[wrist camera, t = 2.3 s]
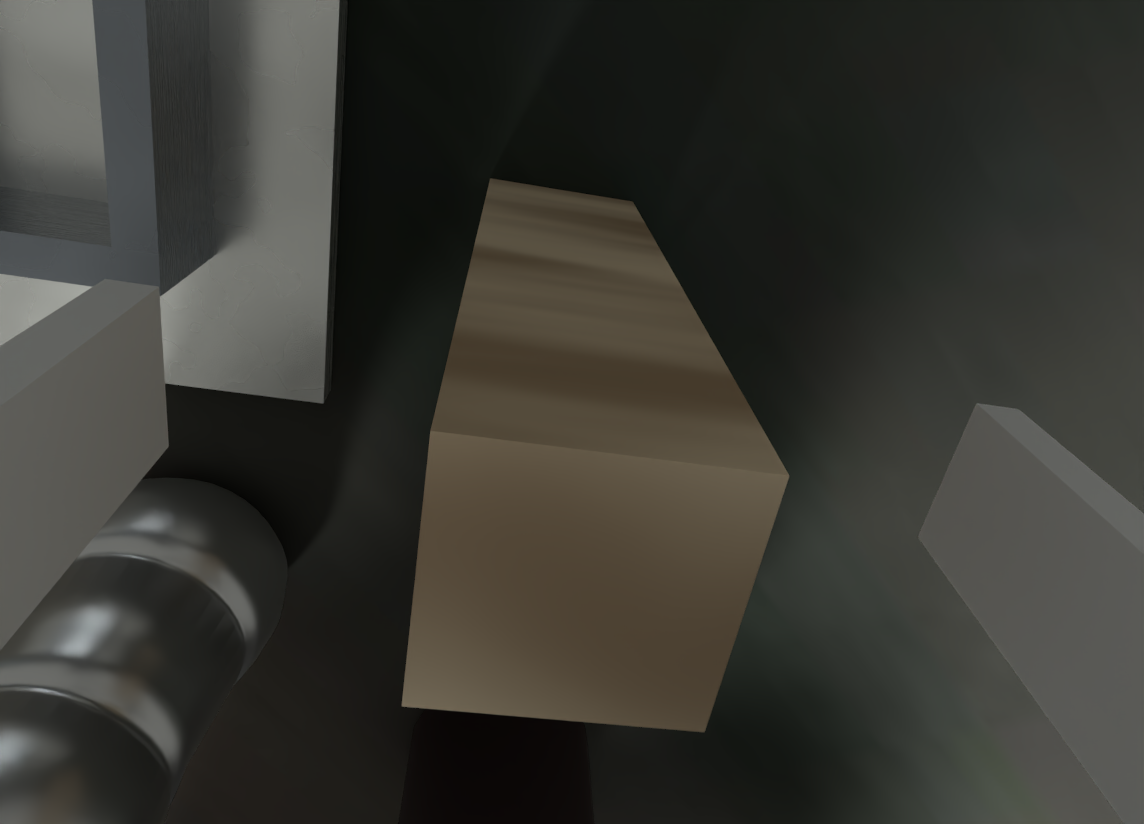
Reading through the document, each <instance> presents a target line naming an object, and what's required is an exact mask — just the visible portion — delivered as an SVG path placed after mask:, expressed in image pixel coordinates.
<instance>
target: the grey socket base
mask: <svg viewBox="0 0 1144 824" xmlns="http://www.w3.org/2000/svg"><path fill="white" fill-rule="evenodd" d="M347 11H348V0H0V346H1V345H3V344H4V343H6V342H7V341H9V340H10V339H12V338H14V337H15V336H17V335H18V334H20V333H21V332H23V331H25V330H26V329H28V328H29V327H31V326H32V325H34V324H35V323H37V322H39V321H40V320H42V319H43V318H45V317H46V316H48V315H50V314H51V313H53V312H54V311H56V310H57V309H59V308H60V307H62V306H64V305H65V304H67V303H68V302H70V301H71V300H73V299H75V298H76V297H78V296H79V295H81V294H82V293H84V292H85V291H87V290H89V289H90V288H92V287H93V286H95V285H96V284H98V283H100V282H101V281H103V280H104V279H109V280H116V281H123V282H130V283H137V284H144V285H151V286H158V287H159V294H160V310H161V326H162V342H163V359H164V375H165V383H166V384H174V385H182V386H189V387H197V388H205V389H213V390H221V391H229V392H236V393H244V394H252V395H260V396H268V397H275V398H283V399H291V400H299V401H307V402H315V403H322V404H324V402H325V400H326V398H327V396H328V394H329V392H330V391H331V378H332V356H333V333H334V310H335V287H336V264H337V241H338V218H339V195H340V172H341V149H342V126H343V103H344V80H345V57H346V34H347Z"/></svg>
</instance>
